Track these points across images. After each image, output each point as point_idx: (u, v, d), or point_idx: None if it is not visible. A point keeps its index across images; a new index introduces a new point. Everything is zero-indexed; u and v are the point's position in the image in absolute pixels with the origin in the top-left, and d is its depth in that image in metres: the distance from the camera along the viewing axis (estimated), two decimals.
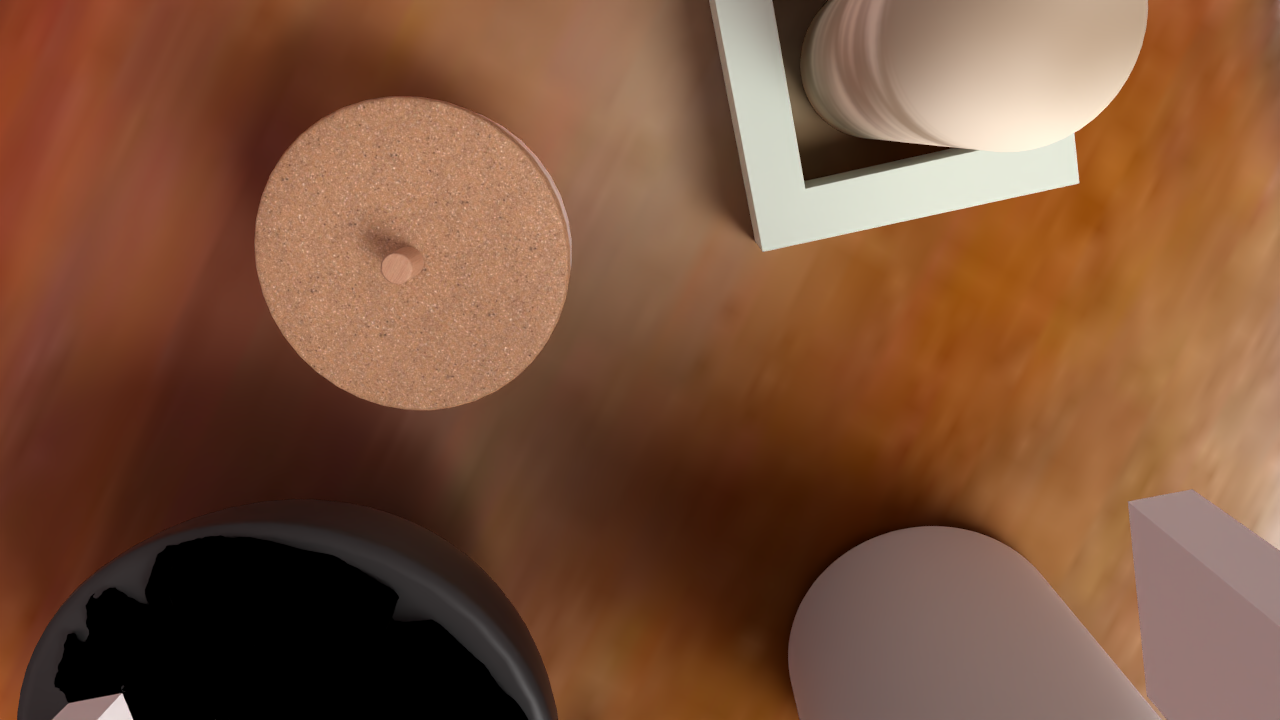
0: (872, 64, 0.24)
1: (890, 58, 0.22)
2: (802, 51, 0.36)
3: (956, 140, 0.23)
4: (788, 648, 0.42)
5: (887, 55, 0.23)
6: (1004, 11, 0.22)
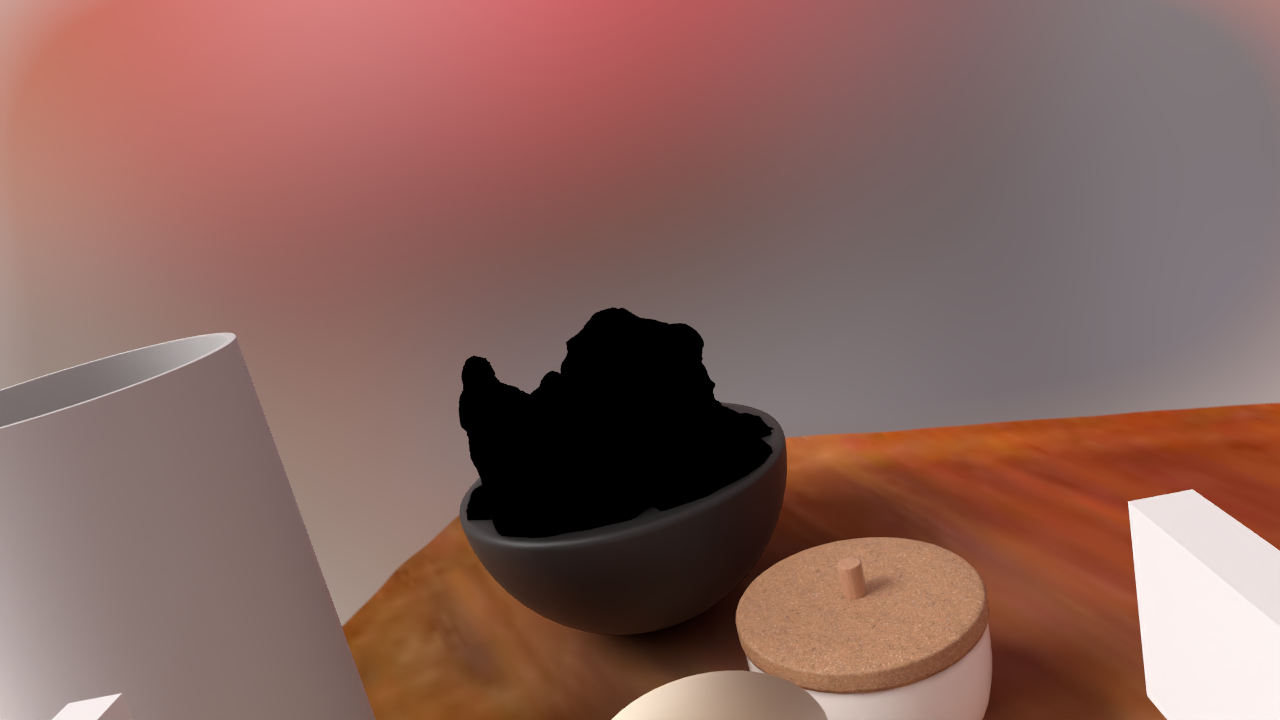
0: None
1: None
2: None
3: (655, 689, 0.25)
4: None
5: None
6: None
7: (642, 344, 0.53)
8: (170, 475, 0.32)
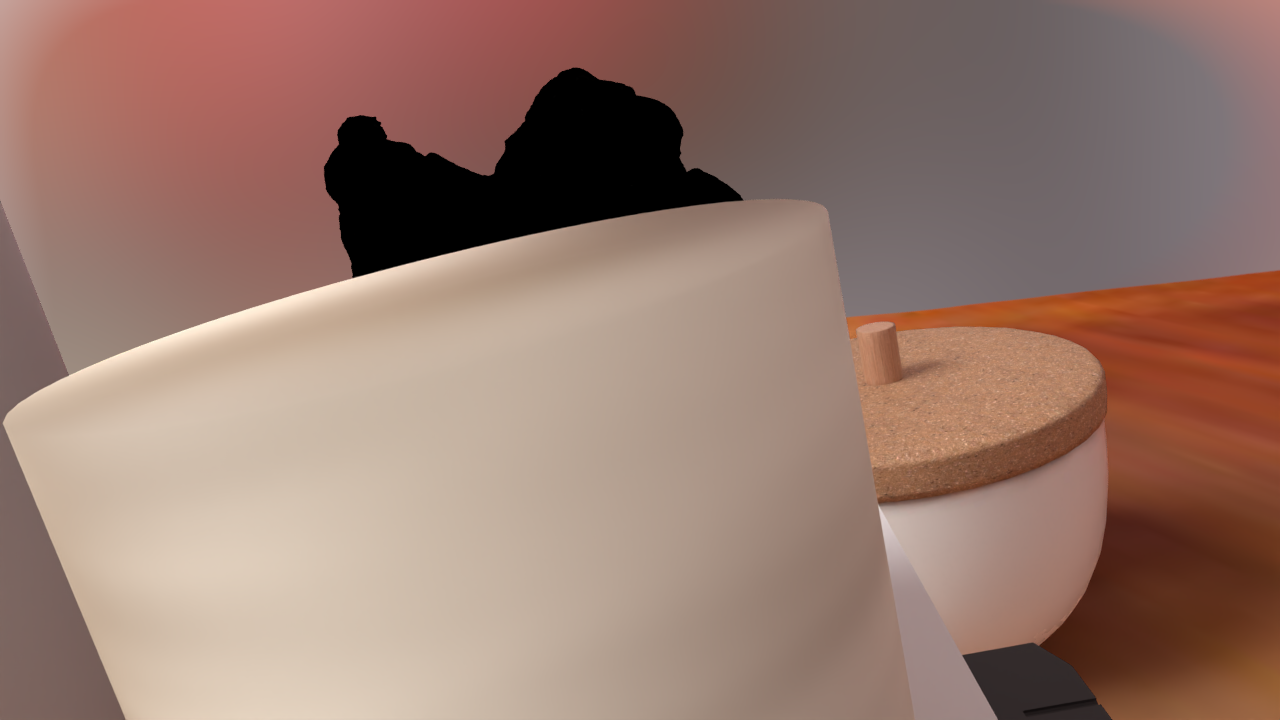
0: None
1: None
2: None
3: (399, 266, 0.10)
4: None
5: None
6: (496, 275, 0.07)
7: (591, 102, 0.38)
8: None
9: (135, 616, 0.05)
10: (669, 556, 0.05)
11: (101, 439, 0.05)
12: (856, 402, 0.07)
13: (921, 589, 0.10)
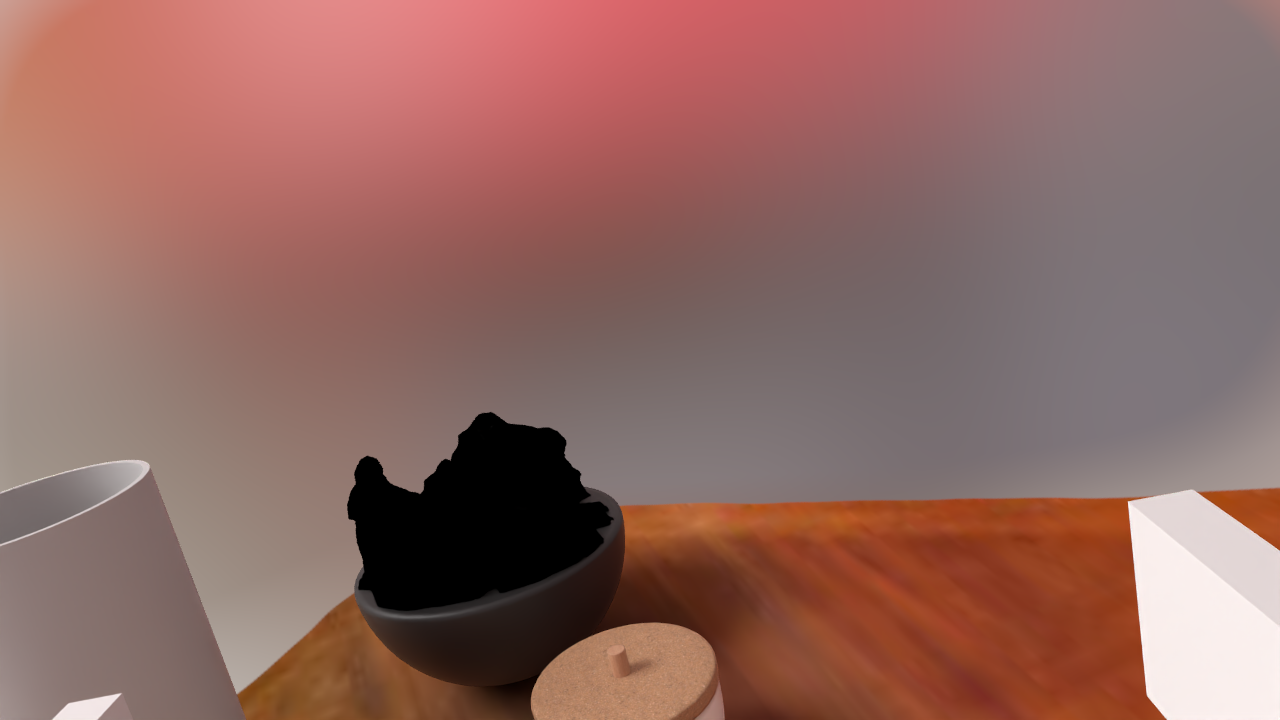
0: None
1: None
2: None
3: None
4: None
5: None
6: None
7: (503, 450, 0.65)
8: (86, 585, 0.44)
9: None
10: None
11: None
12: None
13: None
